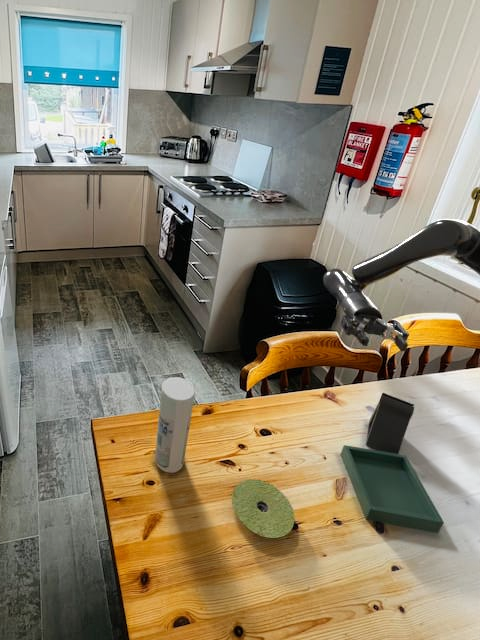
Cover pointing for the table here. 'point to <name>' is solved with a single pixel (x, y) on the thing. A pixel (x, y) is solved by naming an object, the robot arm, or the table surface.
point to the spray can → (174, 423)
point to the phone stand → (389, 423)
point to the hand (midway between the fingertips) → (385, 345)
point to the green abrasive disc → (263, 508)
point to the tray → (390, 489)
